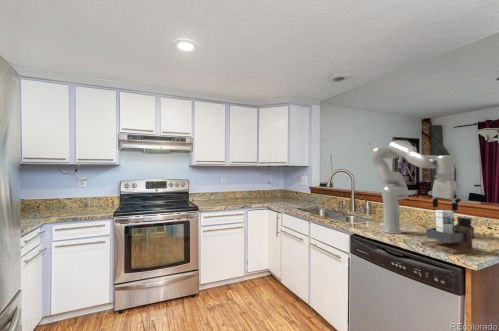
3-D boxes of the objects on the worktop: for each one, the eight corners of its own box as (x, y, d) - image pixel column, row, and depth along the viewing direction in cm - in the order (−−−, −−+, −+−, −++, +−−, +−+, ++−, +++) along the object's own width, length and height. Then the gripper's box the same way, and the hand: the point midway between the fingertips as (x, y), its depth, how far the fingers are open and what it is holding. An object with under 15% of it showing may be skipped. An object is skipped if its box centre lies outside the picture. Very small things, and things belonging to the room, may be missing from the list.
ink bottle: (470, 235, 154) (470, 217, 154) (477, 239, 146) (477, 219, 146) (452, 233, 158) (451, 215, 158) (457, 237, 150) (457, 218, 150)
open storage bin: (426, 236, 133) (426, 228, 133) (441, 234, 136) (441, 227, 136) (450, 243, 121) (450, 234, 121) (466, 241, 125) (466, 232, 125)
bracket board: (421, 244, 134) (421, 223, 134) (440, 242, 138) (439, 222, 139) (452, 254, 119) (452, 230, 119) (472, 251, 123) (472, 228, 123)
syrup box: (442, 238, 126) (442, 211, 127) (435, 235, 132) (435, 209, 133) (454, 238, 126) (454, 211, 126) (447, 235, 131) (446, 209, 132)
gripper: (424, 176, 136) (423, 206, 136) (458, 178, 120) (457, 212, 120) (433, 176, 139) (433, 205, 139) (468, 178, 122) (467, 211, 122)
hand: (444, 208), depth 129 cm, fingers open, 9 cm apart
